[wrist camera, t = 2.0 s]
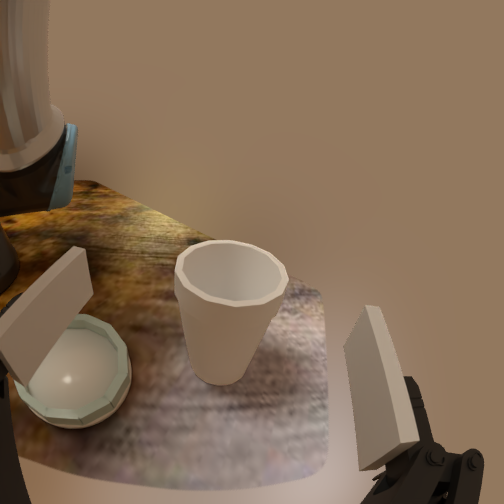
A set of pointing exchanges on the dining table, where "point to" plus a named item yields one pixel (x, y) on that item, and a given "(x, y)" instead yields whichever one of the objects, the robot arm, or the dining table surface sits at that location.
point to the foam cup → (226, 305)
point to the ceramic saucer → (80, 376)
